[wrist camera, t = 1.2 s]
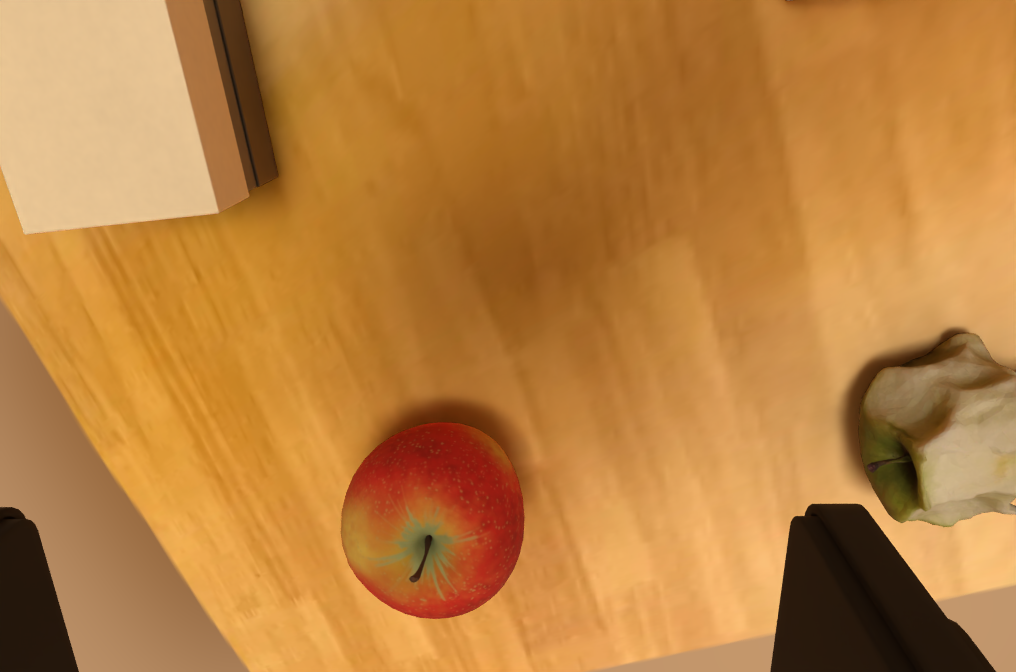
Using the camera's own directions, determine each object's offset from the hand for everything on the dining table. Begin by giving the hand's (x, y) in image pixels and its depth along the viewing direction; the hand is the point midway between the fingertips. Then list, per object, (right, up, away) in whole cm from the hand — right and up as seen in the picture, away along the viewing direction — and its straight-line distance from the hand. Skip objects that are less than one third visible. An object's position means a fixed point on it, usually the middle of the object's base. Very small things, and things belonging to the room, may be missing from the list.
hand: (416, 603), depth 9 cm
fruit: (+21, 0, +27) cm, 34 cm away
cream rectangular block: (-13, +14, +17) cm, 25 cm away
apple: (-2, -3, +29) cm, 29 cm away
